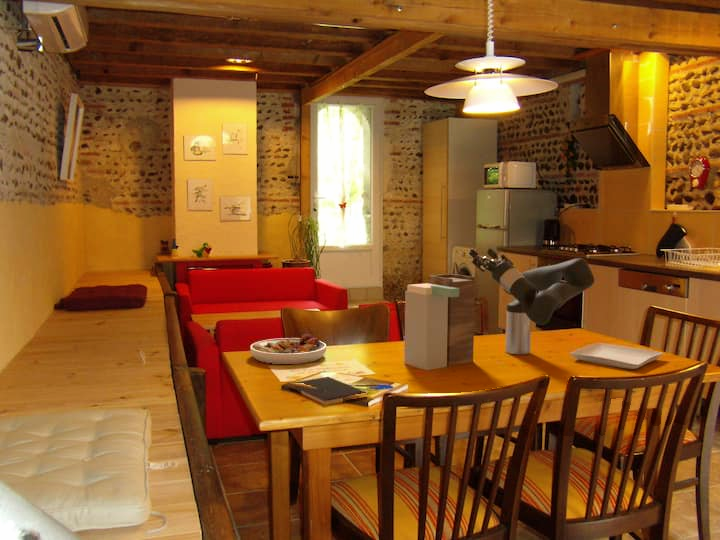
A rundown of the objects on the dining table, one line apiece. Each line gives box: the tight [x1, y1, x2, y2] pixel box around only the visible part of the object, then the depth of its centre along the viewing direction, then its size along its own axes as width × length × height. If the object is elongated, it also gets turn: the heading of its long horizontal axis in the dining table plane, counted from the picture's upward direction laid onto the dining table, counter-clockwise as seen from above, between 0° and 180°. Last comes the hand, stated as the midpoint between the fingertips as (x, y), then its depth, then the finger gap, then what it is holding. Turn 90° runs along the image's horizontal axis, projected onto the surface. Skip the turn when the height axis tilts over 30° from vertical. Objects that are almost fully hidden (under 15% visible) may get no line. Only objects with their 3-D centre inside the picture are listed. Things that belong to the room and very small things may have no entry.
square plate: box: [569, 342, 664, 370], centre depth 268 cm, size 27×27×4 cm
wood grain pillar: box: [427, 273, 476, 367], centre depth 264 cm, size 13×12×33 cm
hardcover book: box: [288, 376, 367, 406], centre depth 221 cm, size 16×23×2 cm
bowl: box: [249, 333, 327, 365], centre depth 270 cm, size 30×30×8 cm
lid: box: [406, 282, 459, 297], centre depth 252 cm, size 21×10×3 cm, turn 35°
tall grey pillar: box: [404, 290, 448, 371], centre depth 258 cm, size 13×10×28 cm
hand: (479, 250), depth 237 cm, fingers open, 8 cm apart
